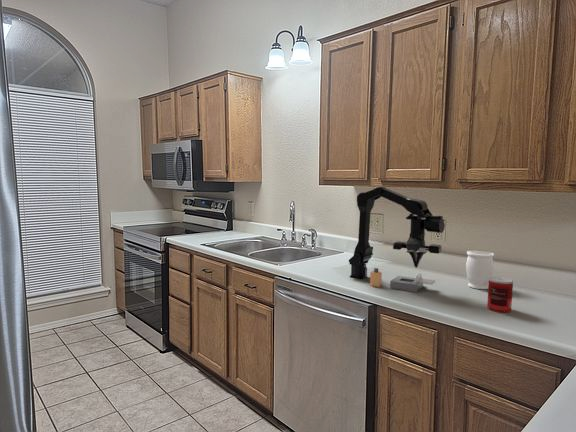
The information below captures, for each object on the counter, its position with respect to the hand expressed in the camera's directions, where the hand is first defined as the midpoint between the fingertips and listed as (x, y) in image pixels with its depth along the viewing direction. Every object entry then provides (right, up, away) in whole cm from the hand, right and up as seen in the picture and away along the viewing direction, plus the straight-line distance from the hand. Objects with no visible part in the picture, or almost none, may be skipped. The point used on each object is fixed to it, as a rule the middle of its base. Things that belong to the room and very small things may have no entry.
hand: (416, 267), depth 170 cm
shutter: (+3, -6, -2) cm, 7 cm away
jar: (+28, -9, +4) cm, 30 cm away
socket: (-3, -9, +3) cm, 10 cm away
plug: (-16, -9, +5) cm, 19 cm away
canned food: (+22, -12, -25) cm, 35 cm away
